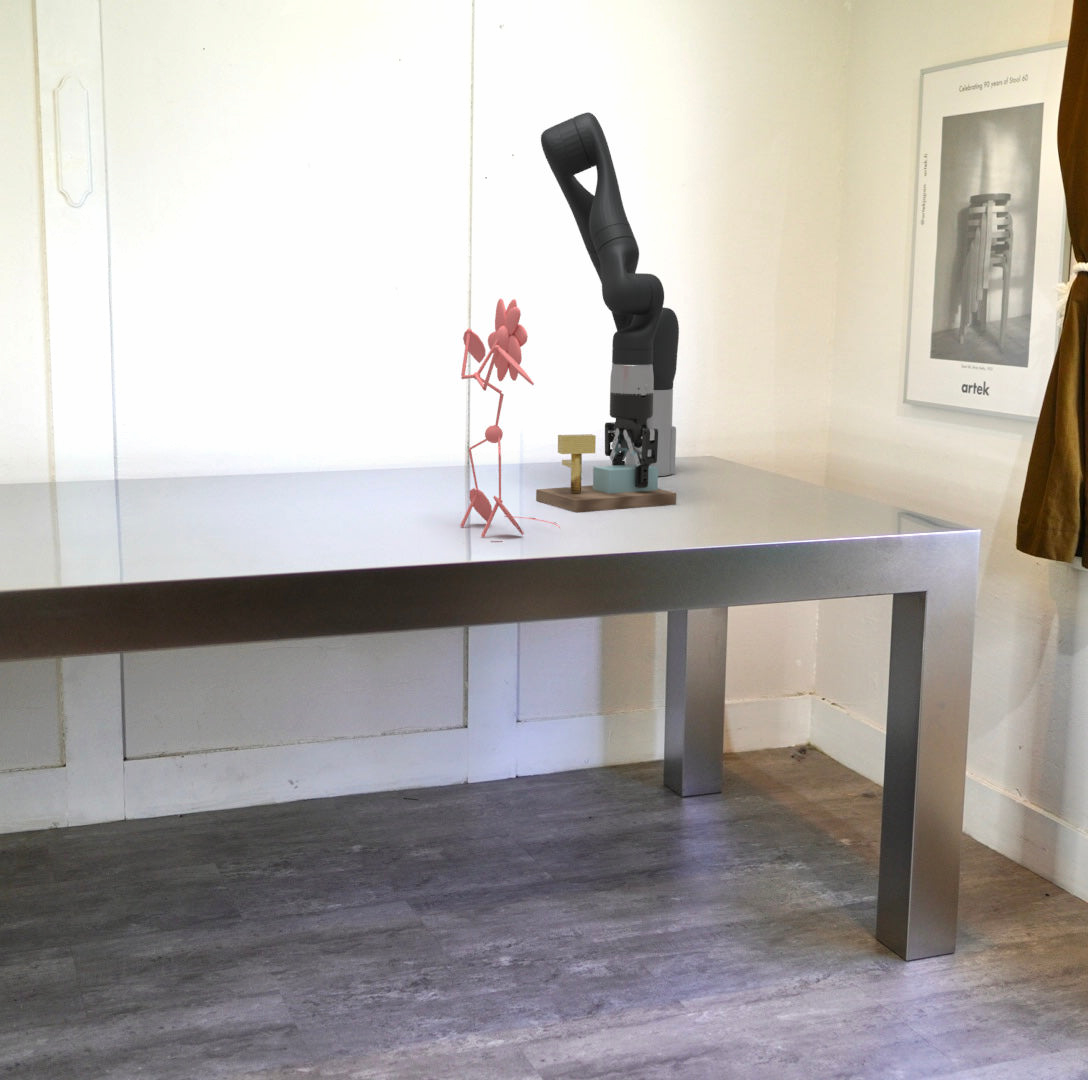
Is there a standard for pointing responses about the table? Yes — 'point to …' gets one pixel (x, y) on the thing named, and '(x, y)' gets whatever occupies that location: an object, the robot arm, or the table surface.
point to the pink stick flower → (505, 356)
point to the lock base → (603, 499)
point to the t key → (576, 455)
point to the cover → (621, 479)
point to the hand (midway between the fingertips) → (629, 484)
